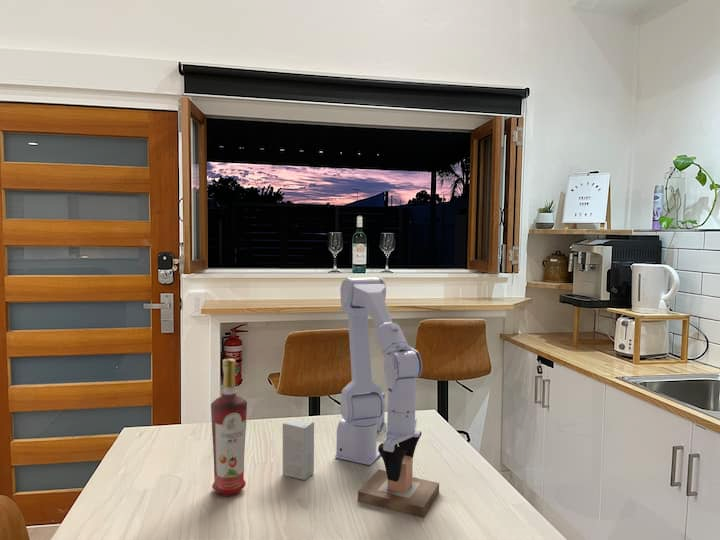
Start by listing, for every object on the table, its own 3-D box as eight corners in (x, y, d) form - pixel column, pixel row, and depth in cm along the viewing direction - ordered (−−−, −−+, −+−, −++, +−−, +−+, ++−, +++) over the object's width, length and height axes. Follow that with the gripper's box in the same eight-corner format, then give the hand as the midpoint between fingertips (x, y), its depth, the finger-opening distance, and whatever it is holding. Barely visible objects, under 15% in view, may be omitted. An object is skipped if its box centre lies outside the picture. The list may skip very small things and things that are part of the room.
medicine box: (380, 431, 144) (380, 401, 143) (364, 430, 145) (364, 399, 144) (384, 421, 151) (385, 392, 151) (369, 420, 152) (370, 391, 152)
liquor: (215, 502, 105) (215, 366, 103) (207, 486, 111) (207, 357, 109) (250, 494, 108) (251, 362, 106) (241, 479, 115) (242, 354, 113)
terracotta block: (387, 488, 108) (387, 460, 107) (394, 480, 111) (395, 453, 111) (405, 493, 106) (406, 464, 106) (412, 484, 110) (412, 457, 109)
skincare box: (314, 473, 119) (315, 421, 118) (304, 481, 115) (305, 428, 114) (291, 467, 121) (292, 417, 120) (281, 475, 117) (281, 423, 116)
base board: (357, 500, 107) (357, 490, 107) (378, 477, 117) (378, 468, 117) (423, 517, 101) (423, 507, 101) (438, 492, 111) (439, 482, 111)
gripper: (408, 423, 99) (406, 492, 100) (430, 401, 112) (428, 462, 113) (374, 417, 102) (372, 484, 103) (399, 396, 115) (398, 455, 116)
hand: (399, 472), depth 108 cm, fingers open, 7 cm apart
